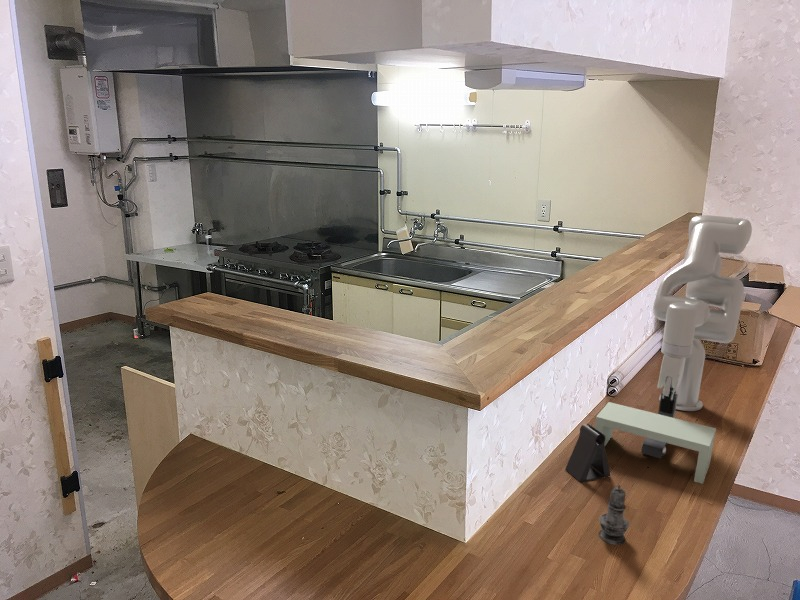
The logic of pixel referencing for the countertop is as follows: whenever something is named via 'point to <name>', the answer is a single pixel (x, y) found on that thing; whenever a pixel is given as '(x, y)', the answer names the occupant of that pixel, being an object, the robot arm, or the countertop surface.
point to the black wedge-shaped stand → (589, 456)
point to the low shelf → (659, 431)
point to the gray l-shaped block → (655, 446)
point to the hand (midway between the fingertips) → (666, 410)
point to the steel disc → (663, 451)
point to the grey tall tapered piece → (614, 518)
